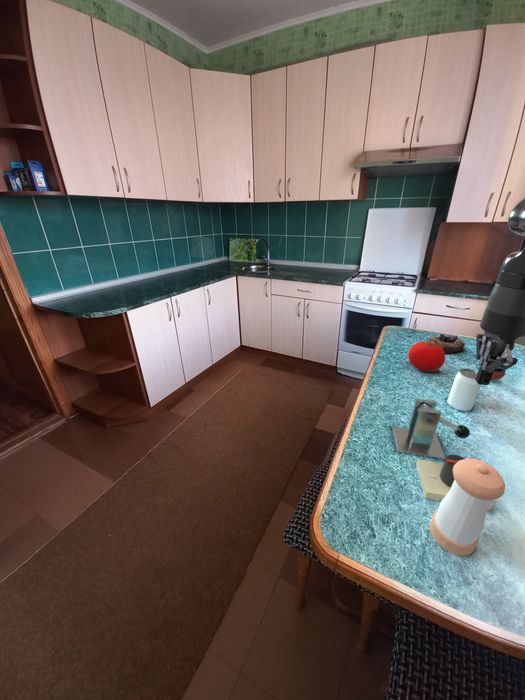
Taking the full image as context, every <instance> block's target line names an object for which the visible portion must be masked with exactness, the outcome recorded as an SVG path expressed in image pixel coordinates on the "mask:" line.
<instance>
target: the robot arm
mask: <svg viewBox="0 0 525 700" xmlns="http://www.w3.org/2000/svg"><path fill="white" fill-rule="evenodd" d="M507 225H508V228H509V230H510V231H511V232H512V233H513V234H515V235H517V236H521V237H525V197H524V198H522V199H521V200H519V202H518V203H517V204H516V205H515V206H514V207H513V208H512V210H511V211H510V214H509V215H508V220H507ZM479 327H480V329H481V330H483V333H476V341H475V342H476V343H475V344H476V348H475V352H476V353H475V357H476V360H477V361H478V366H479V368H478V371H477V372H478V373H477V376H476V379H475V380H476V382H477V383H478V384H479V385H481V386H489V385H490V383H491V381H492V380H491V378H492V376H493V373H494V372H495V373H502V372H504V371H505V372H506V371H507V370H509V369H511V368H512V367H514V366H515V365H517V364H518V358H517V357H513V355H512V352H513V350H514V348H515V343H516V340H517V339H518V338H521V337H522V338H523V337H524V336H525V246H524V247H523V249H522V250H518V251H514V252H511V253H509V254H507V255H506V256H505V258H504V260H503V262H502V264H501V267H500V270H499V273H498V276H497V279H496V282H495V284H494V286H493V288H492V290H491V291H490V294H489V297H488V300H487V303H486V306H485V308H484V311H483V314H482V317H481V320H480V323H479Z"/></svg>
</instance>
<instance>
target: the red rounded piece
mask: <svg viewBox="0 0 525 700" xmlns="http://www.w3.org/2000/svg"><path fill="white" fill-rule="evenodd" d="M505 375H506V370H505V371H504V372H502V373H495V372H494V373H493V376H492V378H491V381H496V380H500V379H502V378H503V377H505Z"/></svg>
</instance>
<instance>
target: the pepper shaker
mask: <svg viewBox="0 0 525 700" xmlns="http://www.w3.org/2000/svg"><path fill="white" fill-rule="evenodd" d="M453 475H454V479H455V480H454V482H453V484H452V487H451V489H450V491H449V492H448V493H447V495H446V496H445V497H444V499H443V500H442V501H441V502H440V503H439V506H438V509H437V510H436V511H435V512H434V513H433V515H432V517H431V520H430V523H429V532H430V535H431V536H432V538H433V539H434V541H435V542H436V543H437V544H438V545H439V546H440V547H441V548H442V549H444V550H445V551H447V552H449V553H450V554H453V555H456V556H459V557H466V556H470V555H472V554H473V552H474V551H475V549H476V547H477V545H478V544H479V539H480V537H479V536H480V534H481V533H482V531H483V529H484V525H485V520H486V515H487V512H488V511H487V510H488V508H489V506H490V504H491V502H492V503H493V501H495V500H498V499H500V498H501V497H502V496H503V495H505V492H506V483H505V481H504V478H503V476H502V475H501V473H500V472H499V471H498V470H497V469H496V468H495V467H493V466H491V464H488V463H487V462H485V461H483V460H480V459H477V458H465V459H464V460H460V461H458V462H457V463H456V464H455V465H454V467H453Z"/></svg>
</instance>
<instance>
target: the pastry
mask: <svg viewBox="0 0 525 700" xmlns="http://www.w3.org/2000/svg"><path fill="white" fill-rule="evenodd" d="M427 341H428V342H433V343H436V344H438V345H439V346H441V347H442V348H443V350H444V353H445V355H454V354H459V353H463V352H464V351H465V348H464V347H465V346H466V343H465V342H464V340H463V341H462V338H459V336H458V335H453V334H449V333H448V334H444V333H440V334H439V335H435V336H430V338H429V339H428V340H427Z"/></svg>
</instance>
